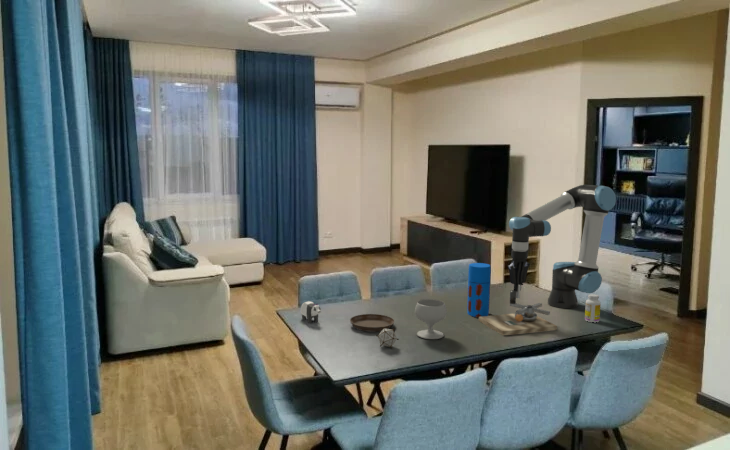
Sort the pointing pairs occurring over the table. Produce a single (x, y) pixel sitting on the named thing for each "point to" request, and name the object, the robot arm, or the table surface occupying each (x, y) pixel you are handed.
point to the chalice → (430, 316)
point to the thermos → (478, 289)
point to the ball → (519, 317)
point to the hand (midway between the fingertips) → (516, 297)
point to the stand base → (515, 324)
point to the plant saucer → (371, 322)
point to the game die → (387, 337)
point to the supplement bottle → (592, 308)
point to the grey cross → (526, 308)
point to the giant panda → (310, 311)
